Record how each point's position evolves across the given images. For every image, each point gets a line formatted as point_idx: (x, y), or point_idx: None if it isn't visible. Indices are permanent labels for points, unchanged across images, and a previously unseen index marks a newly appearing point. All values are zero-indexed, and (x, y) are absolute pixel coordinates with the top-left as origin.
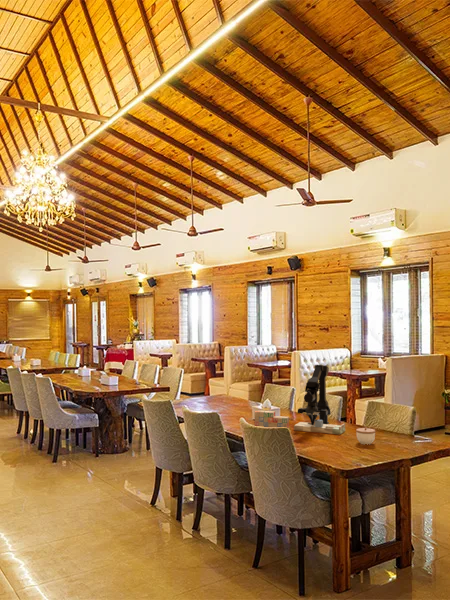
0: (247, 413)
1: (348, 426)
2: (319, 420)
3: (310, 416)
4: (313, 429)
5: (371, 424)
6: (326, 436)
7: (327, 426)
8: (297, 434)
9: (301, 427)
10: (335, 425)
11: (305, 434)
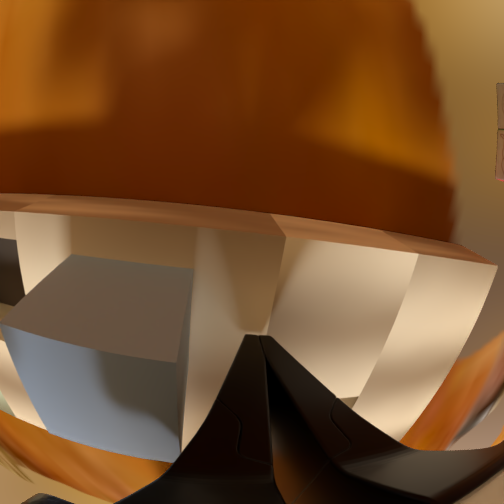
0: (491, 445)
1: (52, 462)
2: (66, 389)
3: (377, 472)
4: (219, 217)
5: (19, 473)
6: (30, 13)
7: None
8: (403, 5)
9: (422, 248)
10: (16, 405)
11: (312, 3)
